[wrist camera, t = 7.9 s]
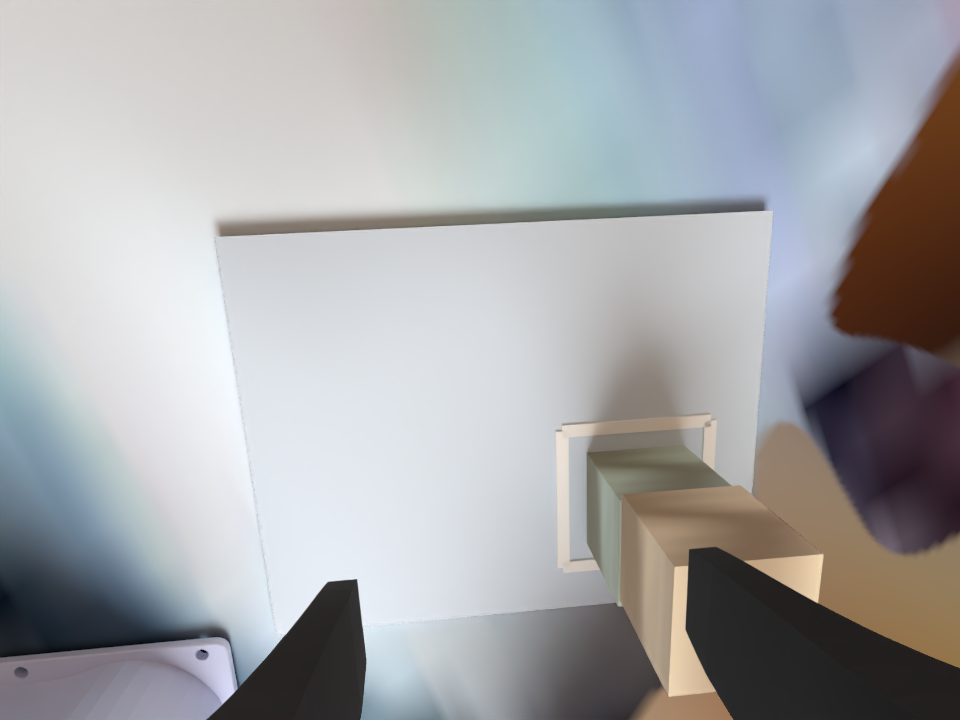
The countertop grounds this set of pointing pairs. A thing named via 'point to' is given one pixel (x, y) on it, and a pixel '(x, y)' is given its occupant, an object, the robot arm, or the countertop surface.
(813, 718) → the robot arm
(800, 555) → the maple cube
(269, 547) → the white rectangular panel
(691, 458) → the sage base cube
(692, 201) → the countertop surface
